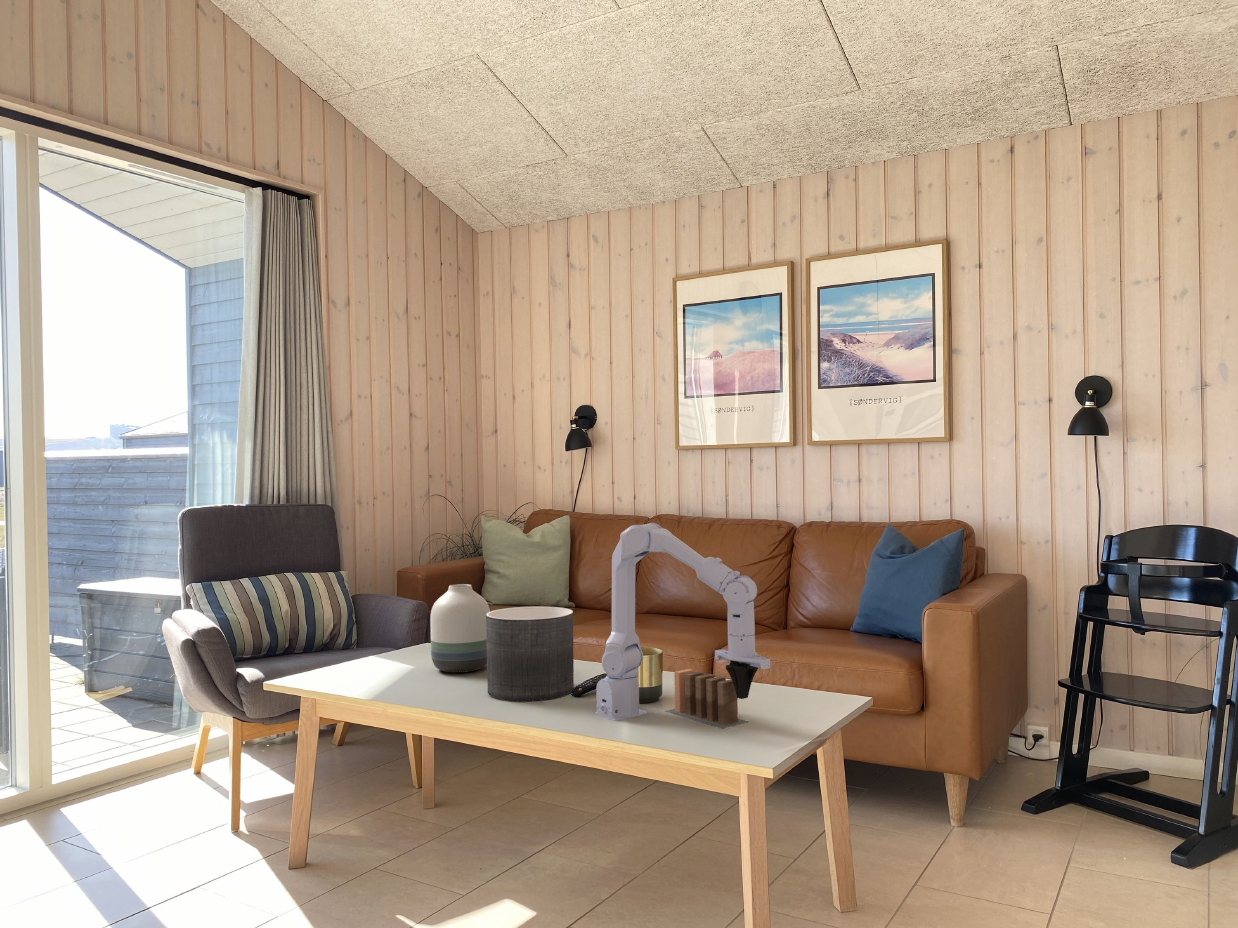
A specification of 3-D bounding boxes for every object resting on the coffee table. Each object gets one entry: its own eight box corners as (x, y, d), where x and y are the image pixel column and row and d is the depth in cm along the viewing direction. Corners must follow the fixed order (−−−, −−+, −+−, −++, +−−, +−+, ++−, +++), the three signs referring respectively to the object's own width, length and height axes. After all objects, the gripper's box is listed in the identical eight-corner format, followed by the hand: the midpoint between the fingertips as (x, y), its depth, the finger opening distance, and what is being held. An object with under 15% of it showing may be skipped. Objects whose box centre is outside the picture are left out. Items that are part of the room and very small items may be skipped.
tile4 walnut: (690, 715, 199) (689, 675, 199) (685, 713, 200) (684, 674, 200) (704, 711, 201) (703, 672, 202) (699, 710, 203) (698, 671, 203)
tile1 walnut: (723, 725, 190) (722, 683, 191) (718, 723, 192) (717, 682, 192) (737, 721, 193) (737, 680, 193) (732, 719, 194) (731, 678, 194)
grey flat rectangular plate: (723, 729, 188) (723, 728, 188) (664, 712, 203) (664, 710, 203) (749, 722, 193) (749, 721, 193) (690, 706, 208) (690, 704, 208)
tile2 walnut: (712, 721, 193) (711, 680, 193) (707, 720, 194) (706, 679, 195) (726, 718, 196) (725, 677, 196) (721, 716, 197) (720, 676, 197)
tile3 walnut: (701, 718, 196) (700, 677, 196) (696, 717, 197) (695, 676, 197) (715, 715, 199) (714, 674, 199) (710, 713, 200) (709, 673, 200)
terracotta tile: (679, 712, 201) (679, 672, 202) (675, 710, 203) (674, 671, 203) (694, 708, 204) (693, 669, 204) (689, 707, 205) (688, 668, 206)
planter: (469, 697, 220) (468, 616, 220) (516, 678, 240) (515, 604, 240) (547, 705, 211) (545, 621, 211) (589, 685, 231) (587, 608, 231)
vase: (439, 663, 262) (438, 582, 262) (496, 662, 261) (494, 581, 262) (424, 676, 245) (423, 589, 245) (485, 675, 244) (483, 588, 245)
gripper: (779, 635, 186) (781, 700, 186) (730, 627, 197) (731, 688, 197) (756, 640, 182) (757, 706, 181) (707, 631, 193) (708, 693, 193)
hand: (742, 697), depth 189 cm, fingers closed
